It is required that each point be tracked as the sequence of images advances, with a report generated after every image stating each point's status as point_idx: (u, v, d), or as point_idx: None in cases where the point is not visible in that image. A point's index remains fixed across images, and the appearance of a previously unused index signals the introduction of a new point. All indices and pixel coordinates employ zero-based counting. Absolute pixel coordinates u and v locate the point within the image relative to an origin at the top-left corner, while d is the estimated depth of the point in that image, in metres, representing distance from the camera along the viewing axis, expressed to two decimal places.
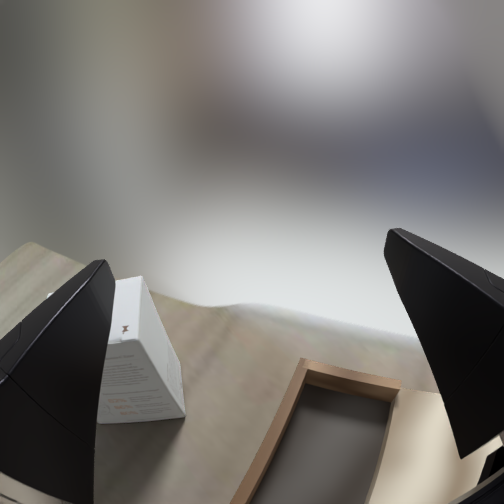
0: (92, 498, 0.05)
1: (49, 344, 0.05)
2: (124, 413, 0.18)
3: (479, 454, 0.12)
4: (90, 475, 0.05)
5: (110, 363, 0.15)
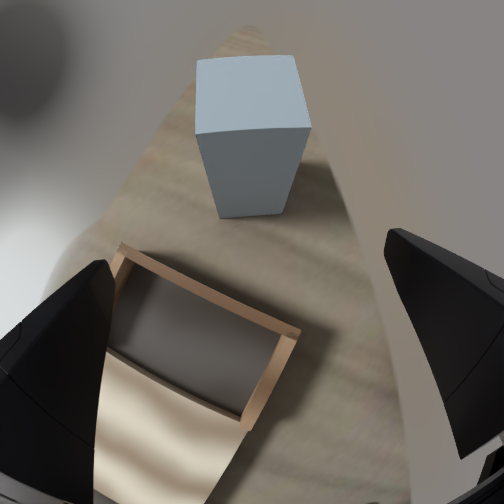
0: (92, 498, 0.05)
1: (49, 344, 0.05)
2: None
3: (115, 430, 0.18)
4: (90, 476, 0.05)
5: None
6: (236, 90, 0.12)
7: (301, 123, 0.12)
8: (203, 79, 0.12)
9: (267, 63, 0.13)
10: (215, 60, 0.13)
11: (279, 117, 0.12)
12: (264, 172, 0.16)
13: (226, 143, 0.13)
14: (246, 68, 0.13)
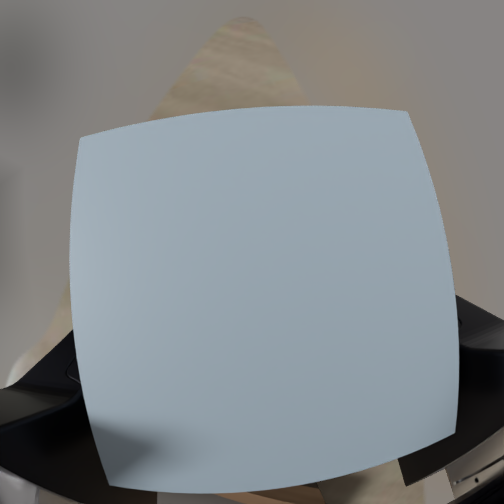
0: None
1: None
2: None
3: None
4: None
5: None
6: (222, 313, 0.03)
7: (435, 431, 0.03)
8: (91, 239, 0.03)
9: (336, 148, 0.04)
10: (137, 133, 0.04)
11: (380, 431, 0.03)
12: None
13: None
14: (257, 175, 0.03)
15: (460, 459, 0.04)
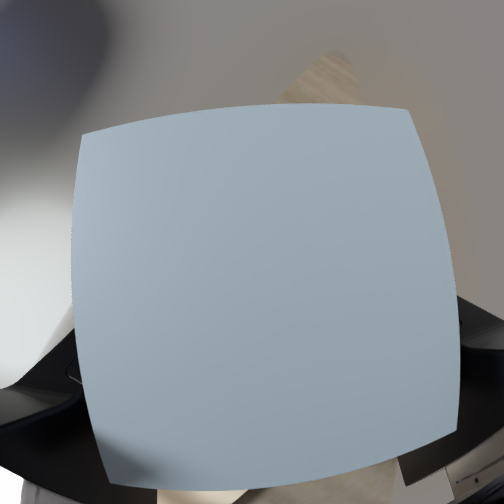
0: None
1: None
2: None
3: None
4: None
5: None
6: (224, 308, 0.03)
7: (436, 428, 0.03)
8: (93, 235, 0.03)
9: (337, 145, 0.04)
10: (139, 131, 0.04)
11: (381, 428, 0.03)
12: None
13: None
14: (259, 171, 0.03)
15: (460, 459, 0.04)
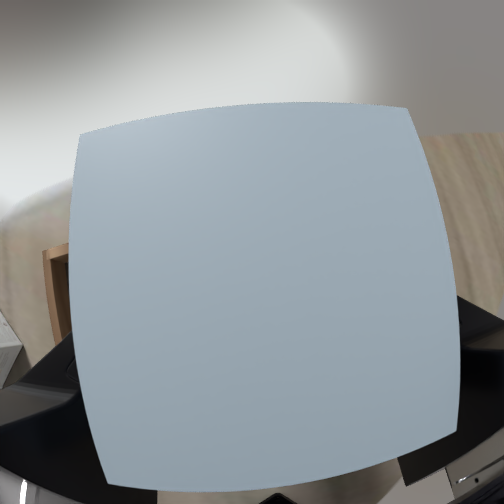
0: None
1: None
2: None
3: None
4: None
5: None
6: (221, 309, 0.03)
7: (436, 429, 0.03)
8: (91, 235, 0.03)
9: (336, 143, 0.04)
10: (136, 130, 0.04)
11: (380, 429, 0.03)
12: None
13: None
14: (257, 170, 0.03)
15: (460, 459, 0.04)
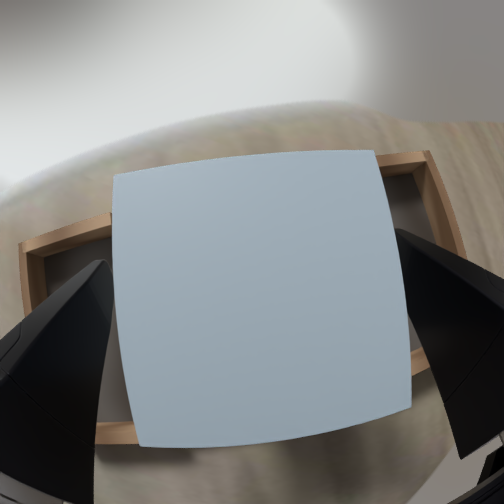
0: (92, 498, 0.05)
1: (49, 344, 0.05)
2: None
3: None
4: (90, 475, 0.05)
5: None
6: (228, 309, 0.05)
7: (393, 403, 0.04)
8: (131, 257, 0.05)
9: (311, 187, 0.05)
10: (161, 175, 0.05)
11: (345, 399, 0.04)
12: None
13: None
14: (253, 210, 0.05)
15: None
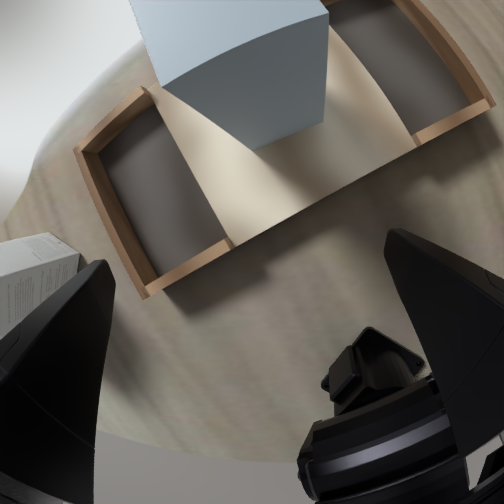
0: (92, 498, 0.05)
1: (49, 344, 0.05)
2: None
3: None
4: (90, 476, 0.05)
5: (12, 299, 0.18)
6: (195, 2, 0.06)
7: (311, 11, 0.06)
8: (144, 10, 0.06)
9: None
10: None
11: (274, 13, 0.06)
12: (284, 88, 0.10)
13: (213, 77, 0.07)
14: None
15: None
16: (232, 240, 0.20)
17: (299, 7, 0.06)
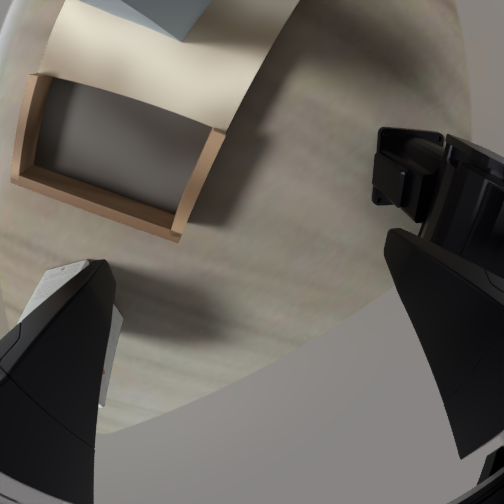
0: (92, 498, 0.05)
1: (49, 344, 0.05)
2: None
3: None
4: (90, 475, 0.05)
5: None
6: None
7: None
8: None
9: None
10: None
11: None
12: None
13: None
14: None
15: None
16: (219, 127, 0.17)
17: None
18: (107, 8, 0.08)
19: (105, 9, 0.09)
